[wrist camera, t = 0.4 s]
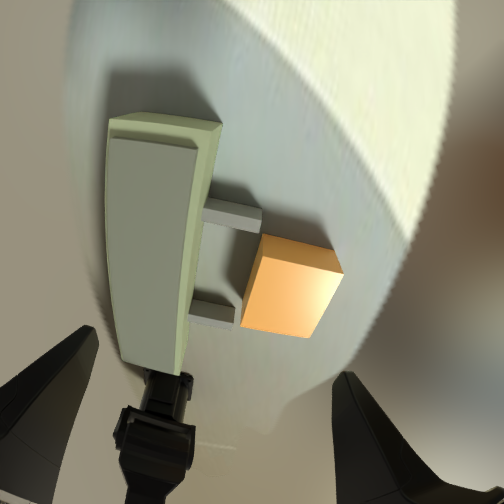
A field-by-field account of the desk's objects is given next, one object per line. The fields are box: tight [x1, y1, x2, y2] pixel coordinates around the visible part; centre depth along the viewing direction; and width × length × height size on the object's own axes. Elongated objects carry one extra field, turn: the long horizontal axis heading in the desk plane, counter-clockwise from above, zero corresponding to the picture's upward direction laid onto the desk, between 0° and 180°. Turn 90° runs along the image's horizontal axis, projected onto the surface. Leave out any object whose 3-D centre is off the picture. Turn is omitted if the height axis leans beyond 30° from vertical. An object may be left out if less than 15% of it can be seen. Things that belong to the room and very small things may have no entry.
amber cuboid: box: [240, 233, 344, 338], centre depth 22 cm, size 7×6×4 cm
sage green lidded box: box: [105, 112, 262, 376], centre depth 21 cm, size 22×10×5 cm, turn 167°
